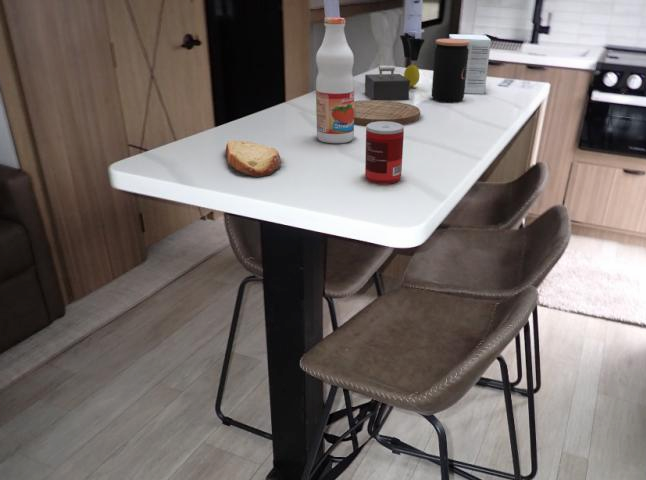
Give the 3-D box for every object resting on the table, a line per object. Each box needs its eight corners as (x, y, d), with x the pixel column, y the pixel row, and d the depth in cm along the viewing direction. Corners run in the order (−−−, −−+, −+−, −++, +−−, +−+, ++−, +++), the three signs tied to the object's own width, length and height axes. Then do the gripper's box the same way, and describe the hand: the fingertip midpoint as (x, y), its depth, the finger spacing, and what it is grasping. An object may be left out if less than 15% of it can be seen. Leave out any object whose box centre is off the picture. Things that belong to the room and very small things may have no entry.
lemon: (400, 86, 214) (401, 63, 210) (414, 85, 216) (415, 62, 212) (407, 89, 210) (409, 65, 206) (421, 88, 212) (423, 64, 208)
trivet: (406, 130, 161) (407, 123, 160) (321, 120, 167) (321, 114, 166) (428, 111, 181) (429, 104, 180) (351, 103, 188) (352, 97, 187)
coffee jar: (465, 103, 192) (471, 43, 183) (432, 102, 192) (437, 42, 183) (461, 96, 201) (467, 39, 192) (430, 95, 201) (434, 38, 192)
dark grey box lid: (410, 82, 192) (410, 69, 190) (374, 83, 189) (374, 69, 187) (399, 76, 202) (400, 63, 200) (365, 76, 199) (365, 63, 197)
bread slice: (235, 147, 143) (234, 131, 141) (302, 156, 137) (302, 140, 136) (190, 168, 128) (188, 151, 127) (263, 179, 123) (262, 162, 121)
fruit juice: (329, 132, 157) (328, 15, 143) (360, 137, 153) (362, 18, 139) (309, 140, 150) (306, 18, 136) (341, 146, 146) (341, 20, 132)
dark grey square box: (408, 99, 195) (409, 82, 192) (373, 100, 192) (373, 83, 190) (398, 92, 205) (399, 76, 202) (364, 93, 202) (365, 76, 199)
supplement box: (444, 85, 218) (448, 33, 209) (480, 86, 217) (486, 34, 208) (447, 92, 206) (451, 38, 197) (485, 94, 206) (491, 39, 197)
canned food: (399, 172, 129) (402, 121, 124) (402, 184, 122) (405, 131, 117) (364, 172, 129) (365, 120, 123) (365, 184, 122) (366, 130, 116)
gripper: (431, 17, 193) (428, 62, 200) (418, 13, 206) (415, 55, 212) (410, 17, 192) (408, 62, 199) (398, 13, 204) (396, 55, 211)
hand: (410, 58), depth 205 cm, fingers open, 7 cm apart
